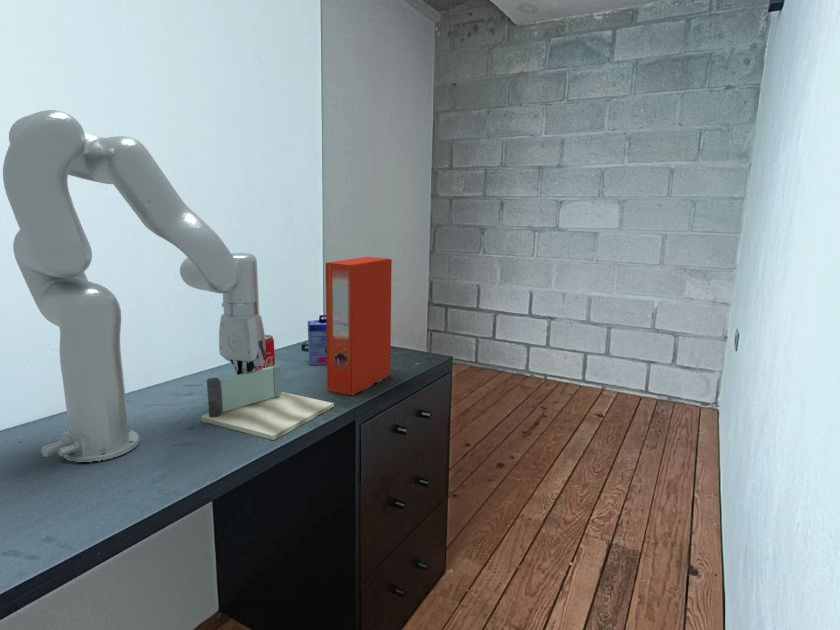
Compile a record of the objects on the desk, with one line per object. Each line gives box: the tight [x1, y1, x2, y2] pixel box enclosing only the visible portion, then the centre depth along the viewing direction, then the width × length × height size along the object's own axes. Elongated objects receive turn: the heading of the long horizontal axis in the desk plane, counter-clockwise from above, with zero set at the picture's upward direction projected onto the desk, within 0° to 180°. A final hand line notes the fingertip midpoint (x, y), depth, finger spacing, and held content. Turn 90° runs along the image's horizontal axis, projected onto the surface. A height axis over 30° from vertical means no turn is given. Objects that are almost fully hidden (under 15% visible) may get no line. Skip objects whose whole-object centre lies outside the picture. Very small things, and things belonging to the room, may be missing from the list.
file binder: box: [325, 256, 392, 395], centre depth 137 cm, size 8×17×32 cm, turn 152°
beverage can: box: [253, 334, 276, 371], centre depth 139 cm, size 5×5×12 cm
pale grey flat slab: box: [218, 364, 282, 412], centre depth 121 cm, size 14×2×7 cm, turn 138°
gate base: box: [200, 377, 335, 441], centre depth 119 cm, size 20×20×9 cm
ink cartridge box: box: [307, 314, 327, 366], centre depth 157 cm, size 10×6×14 cm, turn 107°
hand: (245, 387), depth 124 cm, fingers closed
